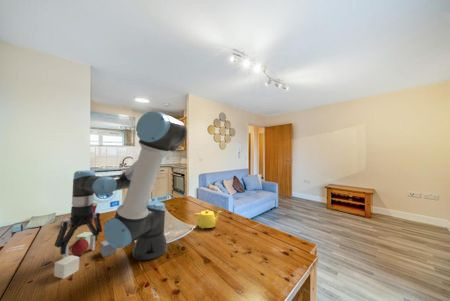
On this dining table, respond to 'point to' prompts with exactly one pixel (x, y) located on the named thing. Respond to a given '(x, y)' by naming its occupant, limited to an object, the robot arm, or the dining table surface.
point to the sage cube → (84, 236)
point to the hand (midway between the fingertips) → (79, 254)
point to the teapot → (207, 219)
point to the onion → (79, 246)
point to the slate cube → (106, 249)
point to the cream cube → (66, 266)
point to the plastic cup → (93, 209)
